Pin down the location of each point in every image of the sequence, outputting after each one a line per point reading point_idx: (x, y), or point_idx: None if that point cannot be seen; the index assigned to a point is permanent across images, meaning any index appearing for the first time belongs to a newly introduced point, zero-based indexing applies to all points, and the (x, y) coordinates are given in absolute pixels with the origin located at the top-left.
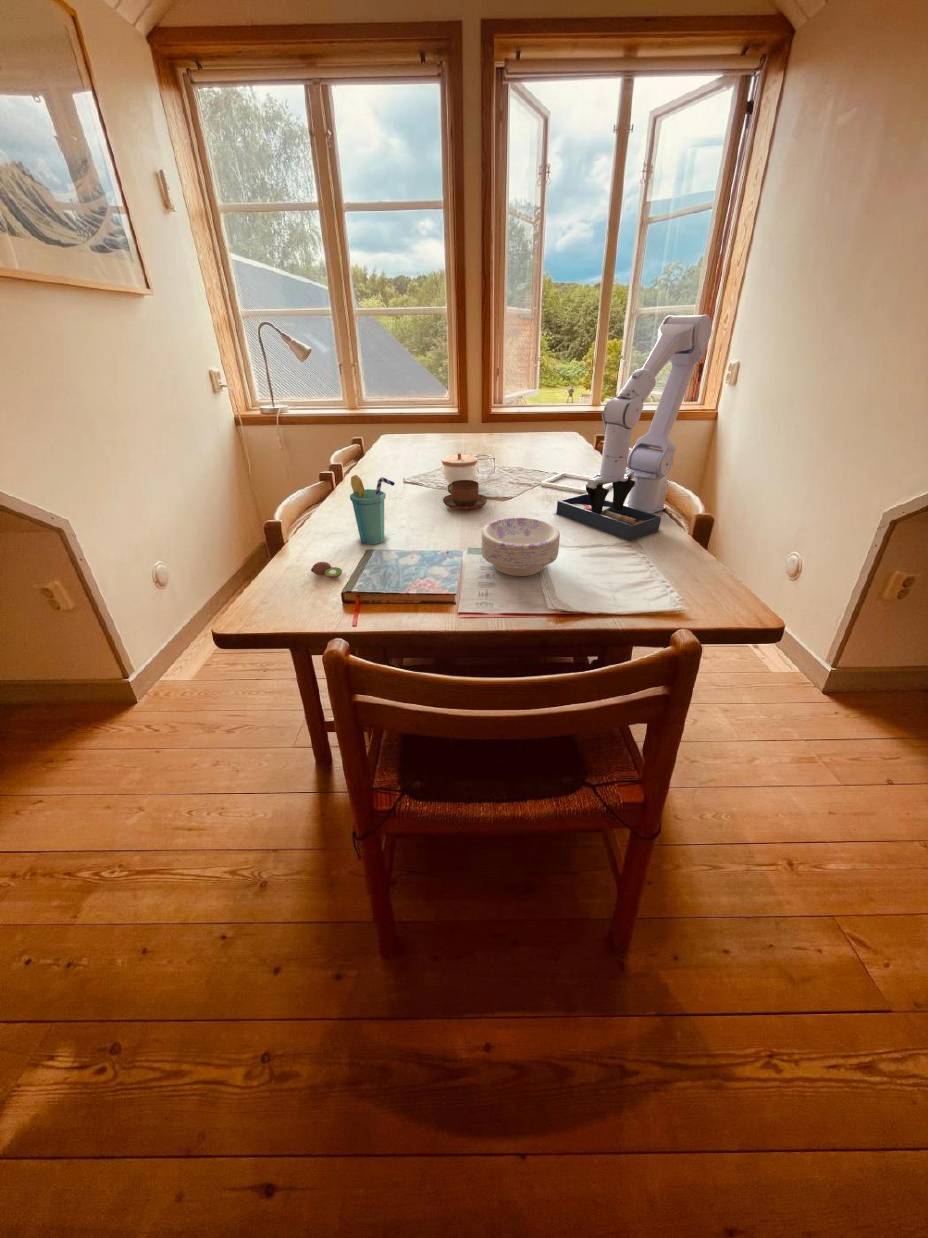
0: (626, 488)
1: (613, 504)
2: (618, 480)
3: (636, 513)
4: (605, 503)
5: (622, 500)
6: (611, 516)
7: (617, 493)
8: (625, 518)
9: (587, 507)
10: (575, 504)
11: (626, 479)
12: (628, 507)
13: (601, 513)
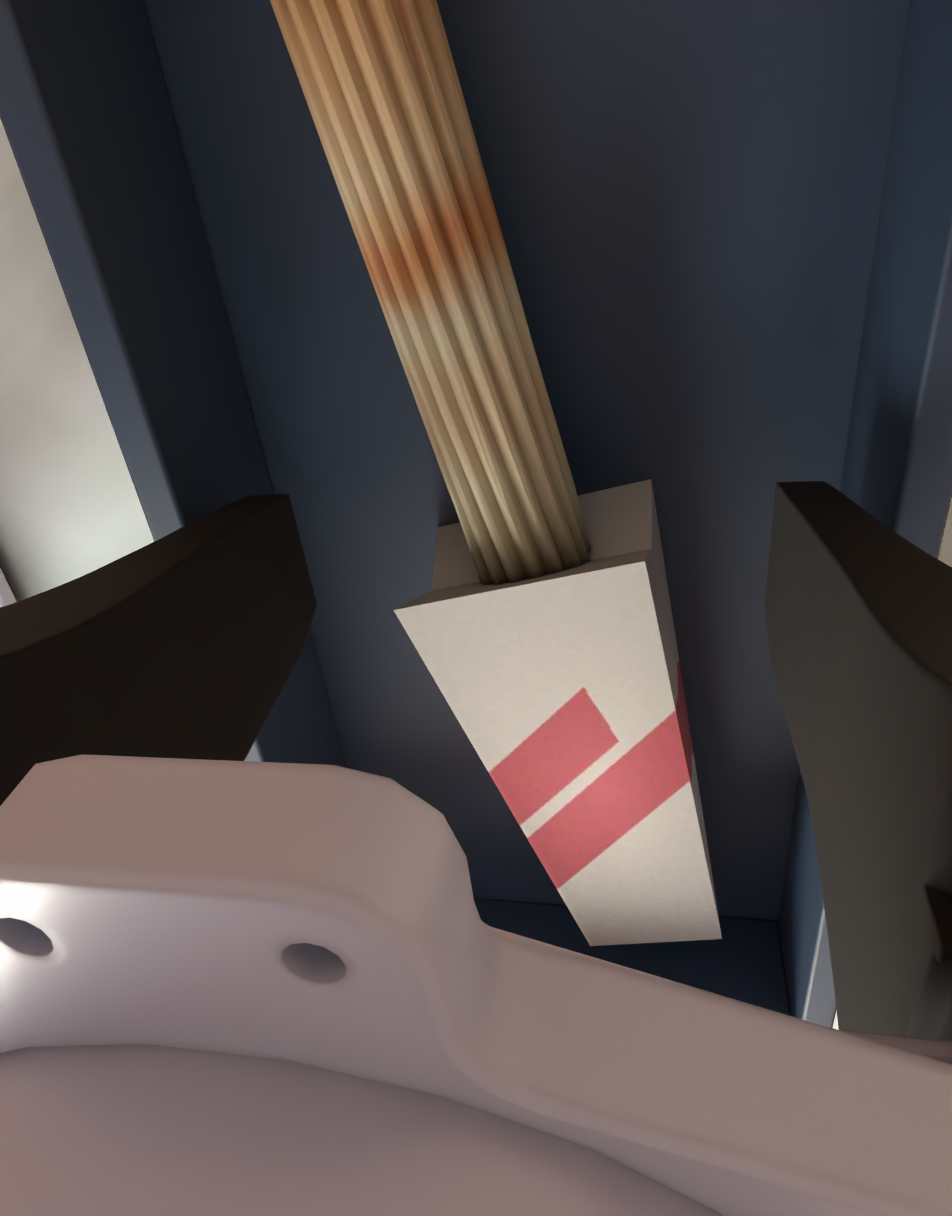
0: (32, 684)
1: (295, 639)
2: (501, 944)
3: (119, 197)
4: (291, 759)
5: (200, 561)
6: (544, 413)
7: (194, 740)
8: (445, 153)
9: (633, 792)
10: (610, 925)
11: (117, 797)
12: (150, 417)
13: (642, 554)
